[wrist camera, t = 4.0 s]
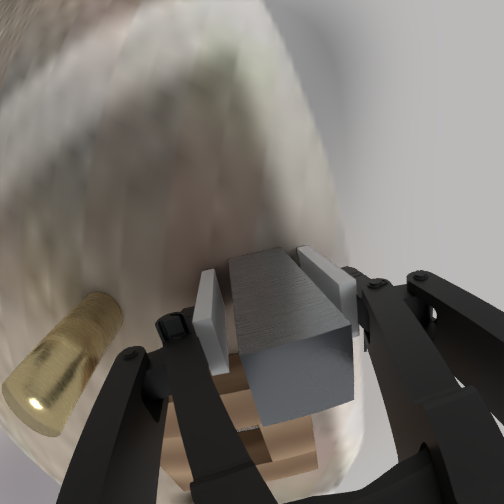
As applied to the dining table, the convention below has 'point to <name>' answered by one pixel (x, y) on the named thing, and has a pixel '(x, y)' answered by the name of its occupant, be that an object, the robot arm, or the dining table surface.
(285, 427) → the socket board
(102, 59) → the dining table surface
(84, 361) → the round bit
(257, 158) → the dining table surface
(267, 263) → the square bit
